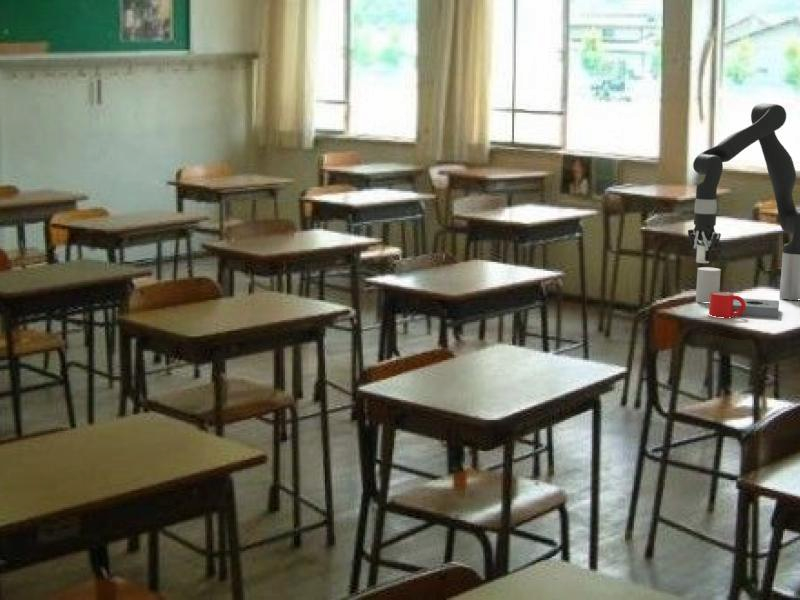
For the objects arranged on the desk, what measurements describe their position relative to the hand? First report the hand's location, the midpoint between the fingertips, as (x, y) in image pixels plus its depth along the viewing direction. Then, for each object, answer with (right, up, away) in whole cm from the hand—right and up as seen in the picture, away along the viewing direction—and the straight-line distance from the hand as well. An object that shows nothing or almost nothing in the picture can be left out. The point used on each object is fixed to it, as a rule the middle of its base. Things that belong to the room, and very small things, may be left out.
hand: (702, 259), depth 462 cm
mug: (+5, -20, -14) cm, 25 cm away
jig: (+16, -19, -6) cm, 26 cm away
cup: (+5, -15, +15) cm, 22 cm away
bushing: (0, -1, 0) cm, 1 cm away
